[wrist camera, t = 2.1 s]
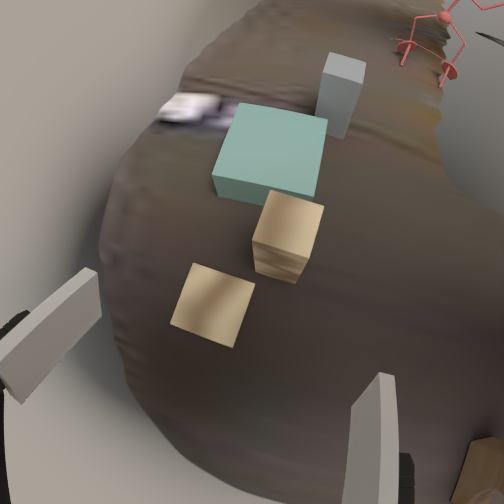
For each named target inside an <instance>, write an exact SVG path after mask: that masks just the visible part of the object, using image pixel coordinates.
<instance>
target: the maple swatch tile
mask: <svg viewBox="0 0 504 504" xmlns="http://www.w3.org/2000/svg"><path fill="white" fill-rule="evenodd" d="M254 287H255V284H254V283H251V282H248V281H245V280H243V279H240V278H237V277H234V276H231V275H228V274H225V273H222V272H219V271H216V270H213V269H210V268H207V267H205V266H202V265H199V264H196V263H193V264H192V267H191V269H190V272H189V275H188V277H187V280H186V282H185V285H184V287H183V290H182V293H181V295H180V298H179V301H178V303H177V306H176V309H175V311H174V314H173V317H172V319H171V322H170V324H172V325H174V326H176V327H179V328H181V329H184V330H186V331H189V332H191V333H194V334H196V335H199V336H202V337H204V338H207V339H209V340H212V341H215V342H217V343H220V344H223V345H226V346H228V347H231V348H233V346H234V343H235V341H236V338H237V335H238V332H239V330H240V327H241V324H242V321H243V318H244V316H245V313H246V310H247V307H248V304H249V301H250V299H251V296H252V293H253V290H254Z"/></svg>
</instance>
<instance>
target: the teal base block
mask: <svg viewBox="0 0 504 504" xmlns="http://www.w3.org/2000/svg"><path fill="white" fill-rule="evenodd" d="M327 123H328V120H327V119H323V118H319V117H315V116H310V115H306V114H301V113H296V112H291V111H286V110H281V109H276V108H270V107H265V106H259V105H252V104H246V103H239V106H238V108H237V111H236V113H235V116H234V118H233V120H232V123H231V125H230V128H229V130H228V133H227V135H226V138H225V141H224V143H223V146H222V148H221V151H220V153H219V156H218V159H217V161H216V164H215V167H214V169H213V172H212V178H213V181H214V185H215V188H216V191H217V195H218V196H219V197H223V198H228V199H233V200H238V201H242V202H247V203H251V204H256V205H260V206H265V203H266V200H267V197H268V195H269V192H270V190H273V191H277V192H280V193H283V194H287V195H290V196H293V197H297V198H300V199H303V200H306V201H309V202H312V201H313V198H314V193H315V188H316V183H317V178H318V173H319V168H320V162H321V157H322V151H323V146H324V140H325V134H326V129H327Z"/></svg>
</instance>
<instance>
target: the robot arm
mask: <svg viewBox="0 0 504 504" xmlns="http://www.w3.org/2000/svg"><path fill="white" fill-rule="evenodd" d="M101 316H102V312H101V304H100V295H99V285H98V274H97V272H95V271H93V270H90V269H88V268H86V267H85V268H84V269H83V270H81V271H80V272H79V273H78V274H77V275H75V276H74V277H73V278H71V279H70V280H69V281H68V282H66V283H65V284H64V285H63V286H62V287H60V288H59V289H58V290H57V291H55V292H54V293H53V294H52V295H51V296H50V297H48V298H47V299H46V300H45V301H44V302H42V303H41V304H40V305H39V306H38V307H37V308H35V309H34V310H33V311H32V312H31V313H30V312H29V311H28V310H25V311H23V312H21V313H19V314H17V315H16V316H14V317H13V318H12V319H11V320H10V321H9V323H6V324H5V325H4V326H3V328H1V329H0V504H11V501H10V495H9V488H8V480H7V472H6V462H5V447H4V392H3V390H4V389H5V388H6V389H7V390H8V392H9V394H10V395H11V396H12V397H13V398H14V399H16V400H17V401H18V402H19V403H20V404H22V403H24V401H25V400H26V399H27V398H28V397H29V395H30V394H31V393H32V392H33V391H34V389H35V388H36V387H37V386H38V385H39V384H40V383H41V382H42V380H43V379H44V378H45V377H46V376H47V375H48V374H49V372H50V371H51V370H52V369H53V368H54V367H55V366H56V364H58V362H59V361H60V360H61V359H62V358H63V357H64V356H65V355H66V354H67V352H68V351H69V350H70V349H71V348H72V347H73V346H74V345H75V344H76V343H77V342H78V340H80V338H81V337H82V336H83V335H84V334H85V333H86V332H87V331H88V330H89V329H90V328H91V327H92V326H93V325H94V324H95V323H96V321H98V319H99V318H100V317H101ZM414 486H415V482H414V463H413V460H412V458H411V455H410V454H409V453H399V440H398V416H397V401H396V389H395V378H394V376H393V375H389V374H385V373H381V372H379V373H378V374H377V376H376V377H375V378H374V380H373V381H372V382H371V383H370V385H369V386H368V387H367V388H366V390H365V391H364V392H363V393H362V395H361V396H360V397H359V398H358V399H357V401H356V402H355V403H354V404H353V405H352V407H351V422H350V435H349V447H348V458H347V467H346V476H345V484H344V491H343V499H342V504H414Z"/></svg>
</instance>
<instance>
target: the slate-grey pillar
mask: <svg viewBox="0 0 504 504" xmlns="http://www.w3.org/2000/svg"><path fill="white" fill-rule="evenodd" d="M365 67H366V63H365V62H362V61H359V60H356V59H353V58H349V57H346V56H342V55H339V54H335V53H332V52H329V55H328V58H327V61H326V64H325V67H324V70H323V74H322V79H321V85H320V90H319V95H318V101H317V106H316V111H315V117H319V118H323V119H327V120H328V123H327V129H326V134H325V135H328V136H332V137H335V138H338V139H341V140H344V137H345V134H346V132H347V129H348V126H349V123H350V120H351V117H352V114H353V111H354V108H355V105H356V102H357V100H358V97H359V94H360V90H361V87H362V84H363V79H364V73H365Z"/></svg>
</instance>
